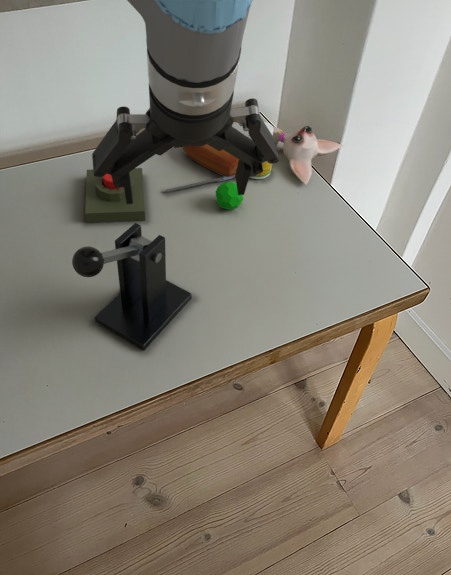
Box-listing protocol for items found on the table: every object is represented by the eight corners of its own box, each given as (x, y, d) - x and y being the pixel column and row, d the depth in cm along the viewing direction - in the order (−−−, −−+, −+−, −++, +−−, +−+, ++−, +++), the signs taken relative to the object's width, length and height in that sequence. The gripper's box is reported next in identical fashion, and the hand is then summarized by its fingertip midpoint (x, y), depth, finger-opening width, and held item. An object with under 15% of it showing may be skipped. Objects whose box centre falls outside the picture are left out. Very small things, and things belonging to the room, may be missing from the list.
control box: (88, 179, 106) (85, 161, 103) (142, 177, 107) (141, 159, 104) (86, 223, 98) (83, 205, 95) (145, 220, 100) (144, 202, 97)
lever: (86, 285, 66) (94, 256, 64) (62, 271, 67) (69, 243, 65) (153, 264, 78) (160, 240, 77) (132, 253, 79) (139, 229, 78)
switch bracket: (143, 351, 82) (139, 281, 71) (95, 322, 84) (82, 251, 73) (191, 298, 89) (194, 227, 78) (145, 273, 91) (141, 201, 80)
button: (103, 177, 101) (102, 169, 100) (124, 176, 102) (123, 168, 100) (103, 190, 99) (102, 182, 97) (124, 189, 99) (124, 181, 98)
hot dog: (229, 165, 104) (247, 150, 106) (175, 136, 109) (192, 122, 111) (231, 185, 108) (247, 170, 110) (178, 156, 113) (195, 142, 115)
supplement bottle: (237, 169, 111) (241, 125, 103) (257, 159, 113) (263, 115, 106) (255, 183, 108) (261, 139, 101) (276, 173, 111) (283, 129, 103)
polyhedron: (213, 196, 105) (215, 175, 101) (240, 196, 106) (242, 176, 102) (215, 215, 102) (217, 194, 98) (243, 215, 102) (245, 194, 99)
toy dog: (285, 90, 115) (350, 124, 111) (278, 121, 121) (339, 154, 117) (244, 126, 107) (312, 164, 103) (239, 158, 114) (303, 194, 110)
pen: (166, 189, 104) (236, 173, 109) (166, 189, 105) (235, 174, 109) (168, 193, 104) (237, 177, 109) (167, 194, 105) (236, 178, 109)
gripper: (46, 129, 47) (83, 226, 68) (337, 111, 51) (288, 209, 71) (42, 52, 49) (79, 169, 70) (322, 39, 53) (279, 154, 73)
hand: (184, 189), depth 70 cm, fingers open, 13 cm apart
